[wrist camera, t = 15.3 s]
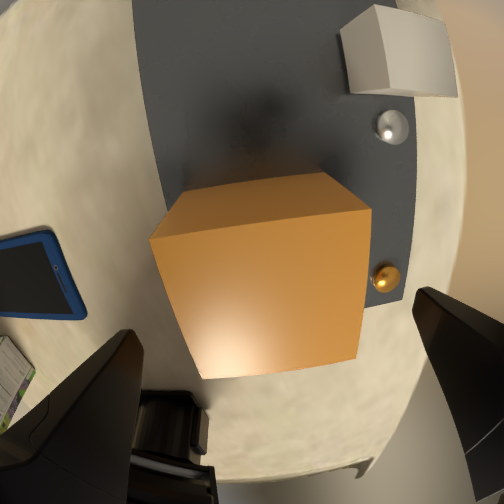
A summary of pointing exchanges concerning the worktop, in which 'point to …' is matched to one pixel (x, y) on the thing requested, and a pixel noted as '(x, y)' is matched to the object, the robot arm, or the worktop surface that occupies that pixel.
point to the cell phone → (37, 279)
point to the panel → (277, 111)
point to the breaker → (398, 54)
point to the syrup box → (12, 380)
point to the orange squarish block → (266, 273)
